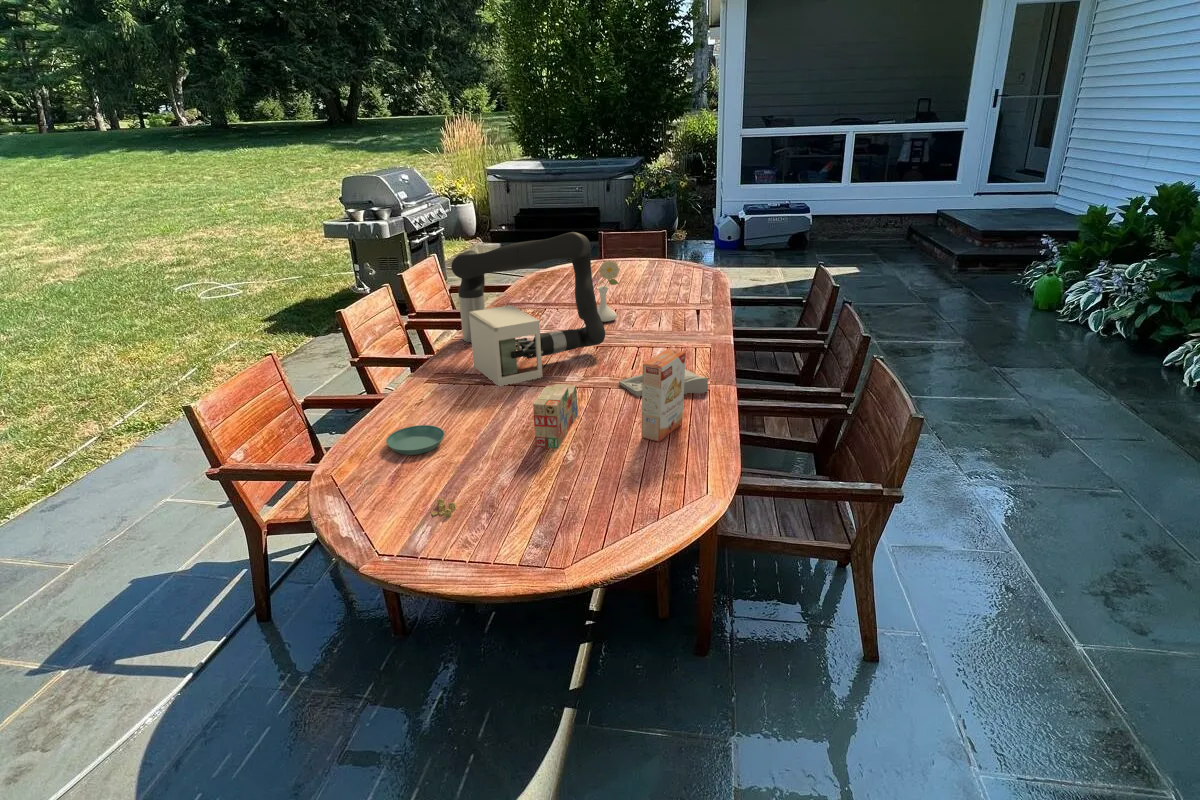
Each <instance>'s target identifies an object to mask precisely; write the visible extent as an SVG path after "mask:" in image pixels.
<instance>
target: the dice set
mask: <svg viewBox="0 0 1200 800" xmlns="http://www.w3.org/2000/svg"><path fill="white" fill-rule="evenodd" d="M436 504H437V507H438V509H439V512H437V511H433V512H431V515H432V516H433V517H435V516H438V515H439V516H444V517H445V518H446V519H448V518H449V519H450V518H451V517H452V516H453V514H452V513H453V511H455V510H456V508H457V507H456V502H454V501H453V502H452V501H450V502H449V503H448V508H447V507H446V503H445V499H444V498H438V499H437V500H436Z"/></svg>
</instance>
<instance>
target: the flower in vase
mask: <svg viewBox="0 0 1200 800" xmlns="http://www.w3.org/2000/svg"><path fill="white" fill-rule="evenodd" d="M598 270H599V271H598V272H599V274H600V276H601V278H603V279H605V280H607V282H606V283H604V282H603V281H601V280H598V279H597V281H598V282H599V283H600V284H601V283H602V284H604V285H600V286H597V287H596V288H597V291H598V293H599V299H600V302H599V305H598V306H597V310H598V314H599V316H600V318H601V320H602V323H603V322H604V323H606V322H612V321H614V320H615V319H617V318H618V314H617V313H616V312H615V311H614V310H613V309H612V308H610V307H609V306H608V305H607V292H608V290H609V289H610V286H607V285H608V283H609V284H610V285H611V286H615V285H619V284H620V283H619V282H618V281H617V279H615V278H617V277H618V274H620V270H621V269H620V267H619V265H618V263H617V262H614V261H612V260H605V261H604V262H602V263H601V265H600V267H599V269H598Z"/></svg>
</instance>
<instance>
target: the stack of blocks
mask: <svg viewBox="0 0 1200 800" xmlns="http://www.w3.org/2000/svg"><path fill="white" fill-rule="evenodd" d="M577 393H578V392H577V384H562V383H561V384H560V383H559V384H558V383H555V384H554V385H553V386H552V385H551V386H550V385H546V386H545V388H543V390H542V391H541V394H540V395H538V397H537V398H536V400H534V402H533V403H532V409H533V425H534V441H535V447H538V448H552V449H559V448H560V447H561V445H562V443H563V442H564V440H565V439H566V437H567V435H568V434H569V431H570V429H571V428H572V425H573V424H574V423H575V421H576V419H577V417H578V415H579V412H578V409H579V408H578V407H579V406H578V395H577Z"/></svg>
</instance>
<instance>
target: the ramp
mask: <svg viewBox="0 0 1200 800" xmlns="http://www.w3.org/2000/svg"><path fill="white" fill-rule="evenodd" d="M708 379H709V378H708V377H705V376H699V375H698V374H696V373H693V372H692V371H690V370H688V369H686V368H685V379H684V395H688V394H687V393H695V394H705V393H704V392H707V393H708V384H709V383H708V381H709V380H708ZM642 382H643V373H642V374H638V375H634V376H631V377H628V378H625V379H621V380H619V381H618V385H619V384H620V385H622V386H623V387H624V388H626V389H627V390H629V391H630V392H632V393H633V394H635V395H636V396H642ZM620 385H619V386H620ZM623 387H622V388H623ZM624 388H623V389H624ZM626 389H625V390H626ZM627 390H626V391H627ZM629 391H628V392H629ZM630 392H629V393H630ZM632 393H631V394H632ZM633 394H632V395H633ZM635 395H634V396H635ZM636 396H635V397H636Z"/></svg>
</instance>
